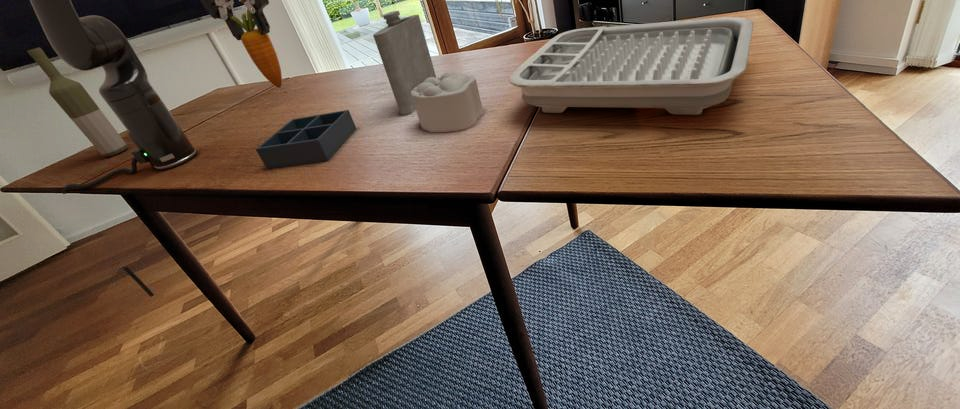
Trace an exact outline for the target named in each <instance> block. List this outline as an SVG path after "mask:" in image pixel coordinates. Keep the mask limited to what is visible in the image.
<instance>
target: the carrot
mask: <svg viewBox="0 0 960 409" xmlns="http://www.w3.org/2000/svg"><path fill="white" fill-rule="evenodd" d="M252 14H253V13H251V12H250V11H249V10H248V9H247V8H246V13H242V14H241V19H239V18H238V17H236V15H235V16H232V17H231V19H232V20H234V21H235V22H236V23H238V24H239V25H240V26H241V27H242V28H243V30H244V32H245V31H246V32H245V33H244V34H243V35H242V37H241V40H240V41H241V44H242V45H243V47H244V48H245V50H246V52H247V54H248V55H249V58H250V59H251V61H252V62H253V64H254V65H255V67H256V68H257V70H259V72H260V73H261V74H262V76H263V77H264V78H265V79H266V80H268V82H270V83H271V84H272V85H273V86H275V87H276V88H278V89H281V87H282V82H283V81H282V80H283V79H282V69H281V64H280V61H279V58H278V55H277V52H276V50H275V47H274V45H273V42H272V39H271V38H270V36H269V33H267V34H264V35H261V34H260V32H259V30H258V28H255V27H256V24H255V22H254V20H253V18H252V16H251V15H252ZM241 20H242V21H241Z"/></svg>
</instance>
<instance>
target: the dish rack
mask: <svg viewBox="0 0 960 409" xmlns="http://www.w3.org/2000/svg"><path fill="white" fill-rule="evenodd" d="M753 32H754V22H753V21H752V20H751V19H748V18H746V17H741V16H722V17H709V18H697V19H686V20H674V21H673V20H672V21H662V22H649V23H637V24H636V23H635V24H628V25H627V24H626V25H616V26H615V25H614V26H606V25H604V26H603V25H602V26H594V27H593V26H592V27H582V28H575V29H570V30H567V31H564V32H560V33H559V34H557V35H555V36H554V37H552V38H551V39H549V41H547V42H545V44H544V45H543V46H541V47H540V48H539V49H538V50H537V51H535V52H534V53H533V54H532V55H531V56H530V57H528V58H527V59H526V60H525V61H524V62H522V63H521V64H520V65H519V66H517V68H516V69H515V70H514V71H513V72H512V73H510V75H509V77H508V82H509V84H510V85H512V86H514V87H517V88H520V89H521V96H522V97H521V98H522V100H523V102H524V103H525V104H528V105H531V106H535V107H540V108H541V110H542V112H543V113H544V114H545V113H546V114H548V113H549V114H561V113H563V112H565V110H566V109H567V108H630V109H631V108H632V109H633V108H634V109H636V108H637V109H665V111H667V112H668V113H669V114H671V115H694V116H695V115H697V116H698V115H701V114H702V112H703V110H704V109H708V108H710V107H712V106H716V105H720V104H721V103H723V102H725V101H726V100H727V99H728V98H730V94H731V92H732V89H733V85H734V81H735V79H737V78H739V77H741V75H743V74H744V73H745V71H746V69H747V67H748V66H747V65H748V61H749V56H750V49H751V43H752V36H753Z"/></svg>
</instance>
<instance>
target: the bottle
mask: <svg viewBox="0 0 960 409" xmlns="http://www.w3.org/2000/svg"><path fill="white" fill-rule="evenodd" d="M26 52H27V53H28V55H29V56H30V57H31V58H32V59H33V60H34V61H35V63H36V64H37V65H38V67H40V69H41V70H42V71H43V72H44V74H45V75H46V76H47V77H48V79H49V80H50V83H49V89H48V93H49V96H50V97H51V98H52V99H53V100H54V102H56V104H58V106H59V107H60V108H61V110H62V111H63V112H64V113H65V114H66V115H67V116H68V118H69V119H70V120H71V121H72V122H73V123H74V125H76V127H77V128H78V129H79V130H80V131H81V133H82V134H83V135H84V136H85V137H86V138H87V140H88V141H89V142H90V143H91V144H92V146H94V148H95V149H96V151H98V152H99V153H100V155H101V156H103V157H104V158H105V157H106V158H108V157H114V156H116V155H119V154H122V153H123V152H124V151H126V150H127V149H128V145H127V143H126V142H125V141H124V139H123V138H122V137H121V135H120V133H119V132H118V131H117V130H116V129H115V126H113V124H112V123H111V121H109V119H108V117H106V115H105V114H104V112H103V111H102V110H101V108H100V107H99V106H98V105H97V103H96V102H95V100H94V99H93V98H92V97H91V95H90V94H89V93H88V91H87V90H86V88H85V87H84V86H83V85H82V84H81V83H80V82H79V81H76V80H74V79H71V78H68V77H65V76H64V75H62V74H61V72H60V70H58V69H57V67H56V66H55V65H54V63H53V62H52V61H51V60H50V59H49V57H48V56H47V55H46V53H45V51H44V50H43V49H42V48H41V47H36V48H31V49H28V50H26Z"/></svg>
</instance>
